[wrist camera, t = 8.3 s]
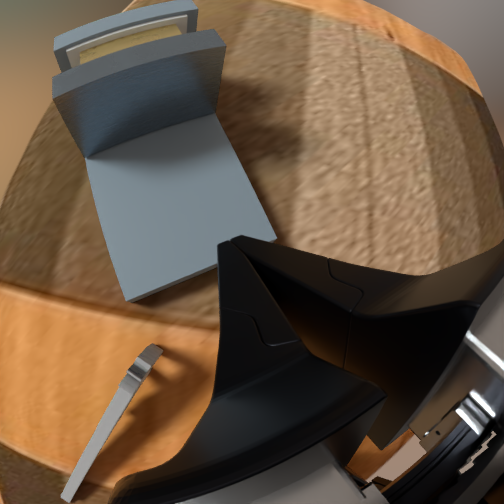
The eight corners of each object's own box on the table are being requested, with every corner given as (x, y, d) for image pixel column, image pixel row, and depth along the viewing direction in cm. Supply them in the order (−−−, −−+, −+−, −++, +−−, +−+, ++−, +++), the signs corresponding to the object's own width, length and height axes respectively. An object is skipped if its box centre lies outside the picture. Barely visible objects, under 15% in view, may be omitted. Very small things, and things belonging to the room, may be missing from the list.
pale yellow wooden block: (184, 98, 23) (185, 40, 17) (101, 126, 21) (81, 72, 15) (175, 79, 24) (175, 23, 17) (96, 104, 22) (79, 52, 15)
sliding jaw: (215, 112, 23) (226, 45, 16) (84, 158, 20) (52, 98, 13) (204, 91, 24) (212, 26, 16) (80, 133, 21) (52, 74, 13)
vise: (270, 244, 24) (319, 196, 14) (132, 302, 21) (85, 289, 11) (183, 67, 27) (187, -5, 17) (79, 102, 24) (55, 33, 14)
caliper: (153, 341, 21) (138, 349, 15) (164, 349, 21) (153, 360, 15) (62, 495, 15) (39, 525, 9) (71, 501, 15) (50, 533, 9)
